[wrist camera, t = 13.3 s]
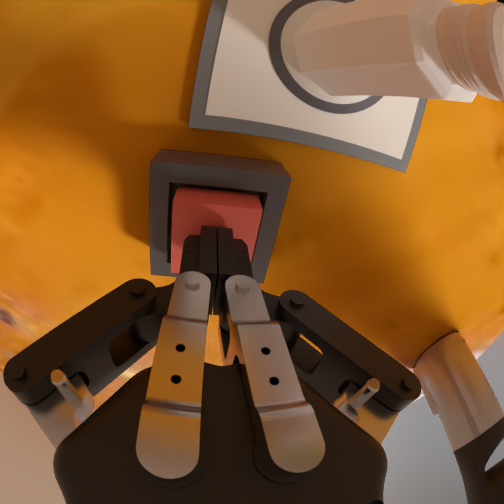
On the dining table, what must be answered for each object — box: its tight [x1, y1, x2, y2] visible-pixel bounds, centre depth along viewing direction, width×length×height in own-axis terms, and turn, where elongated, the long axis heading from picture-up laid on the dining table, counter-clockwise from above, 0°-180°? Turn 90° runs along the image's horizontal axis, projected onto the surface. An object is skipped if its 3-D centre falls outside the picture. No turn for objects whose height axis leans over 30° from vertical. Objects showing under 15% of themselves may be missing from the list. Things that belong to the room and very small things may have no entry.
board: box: [188, 0, 427, 173], centre depth 11 cm, size 12×14×1 cm
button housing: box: [149, 149, 291, 283], centre depth 16 cm, size 7×7×2 cm
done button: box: [171, 187, 263, 273], centre depth 14 cm, size 4×4×2 cm
